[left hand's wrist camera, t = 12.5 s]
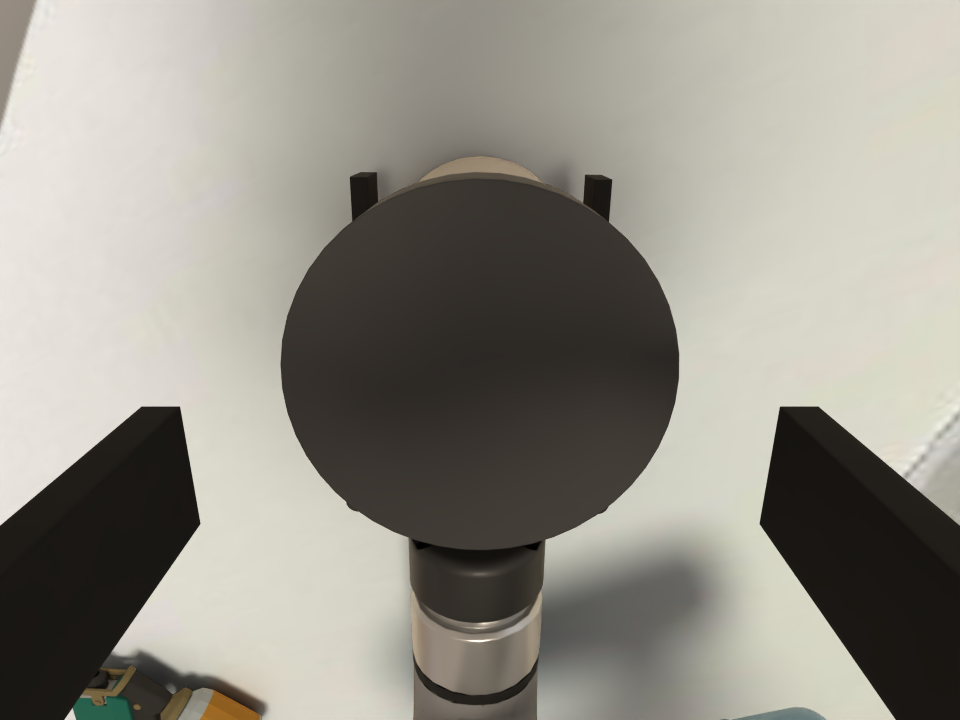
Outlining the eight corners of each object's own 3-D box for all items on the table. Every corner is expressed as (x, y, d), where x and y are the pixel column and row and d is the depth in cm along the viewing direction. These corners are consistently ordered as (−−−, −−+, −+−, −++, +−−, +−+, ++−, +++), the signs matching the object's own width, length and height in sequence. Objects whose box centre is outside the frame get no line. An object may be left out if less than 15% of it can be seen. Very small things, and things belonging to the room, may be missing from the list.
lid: (471, 83, 17) (470, 78, 15) (731, 348, 19) (762, 376, 17) (230, 362, 20) (200, 391, 17) (486, 563, 22) (486, 610, 20)
